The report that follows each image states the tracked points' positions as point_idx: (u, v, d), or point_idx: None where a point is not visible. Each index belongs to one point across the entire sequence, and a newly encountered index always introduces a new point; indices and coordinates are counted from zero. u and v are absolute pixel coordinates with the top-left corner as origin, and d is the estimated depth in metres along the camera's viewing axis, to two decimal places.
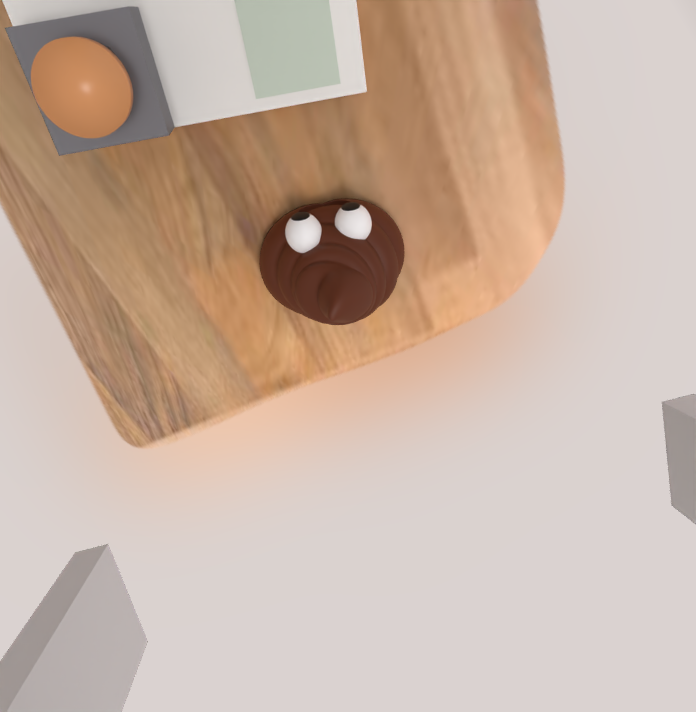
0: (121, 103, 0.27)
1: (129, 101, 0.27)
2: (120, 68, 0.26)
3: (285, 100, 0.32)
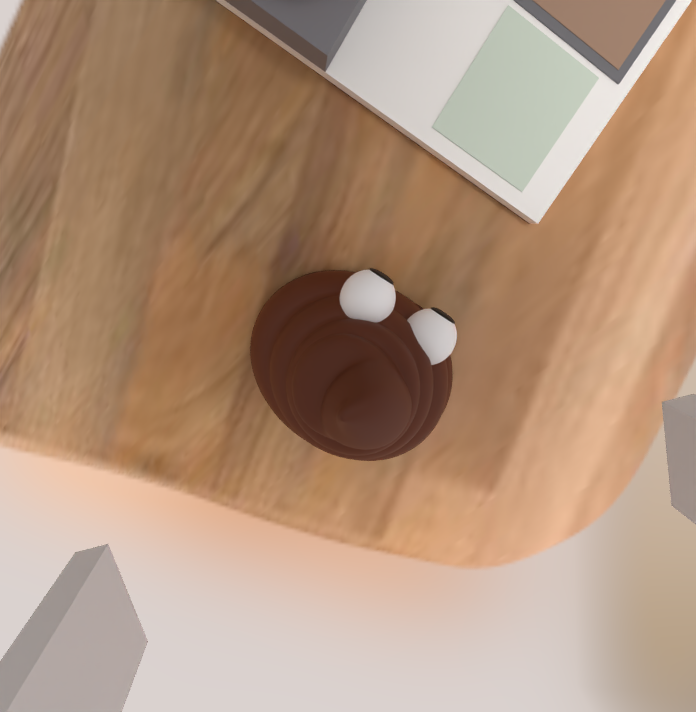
0: None
1: None
2: None
3: (457, 156, 0.24)
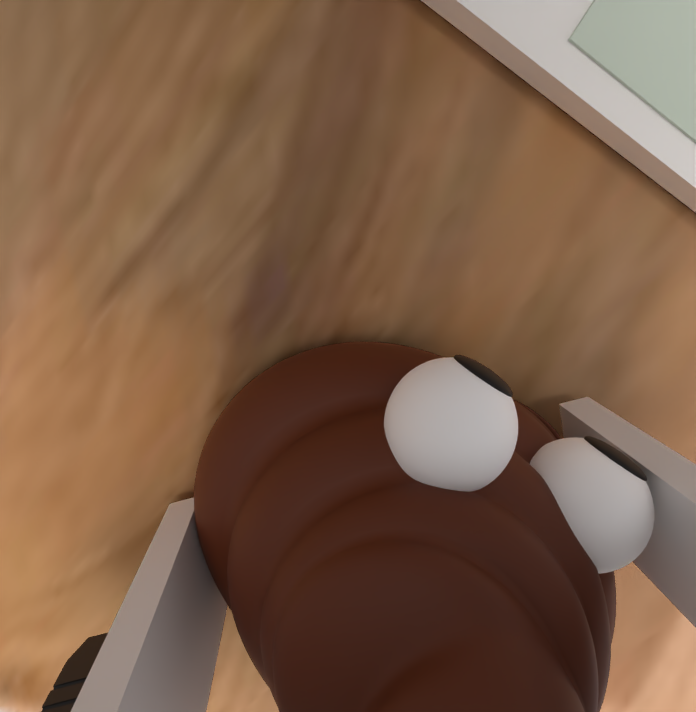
0: None
1: None
2: None
3: (617, 105, 0.11)
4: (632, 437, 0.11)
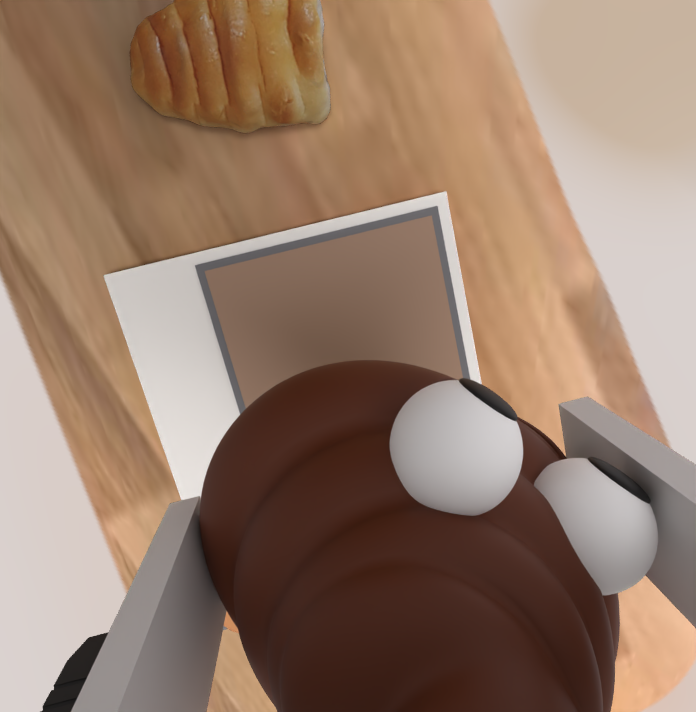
0: None
1: None
2: None
3: None
4: (632, 437, 0.11)
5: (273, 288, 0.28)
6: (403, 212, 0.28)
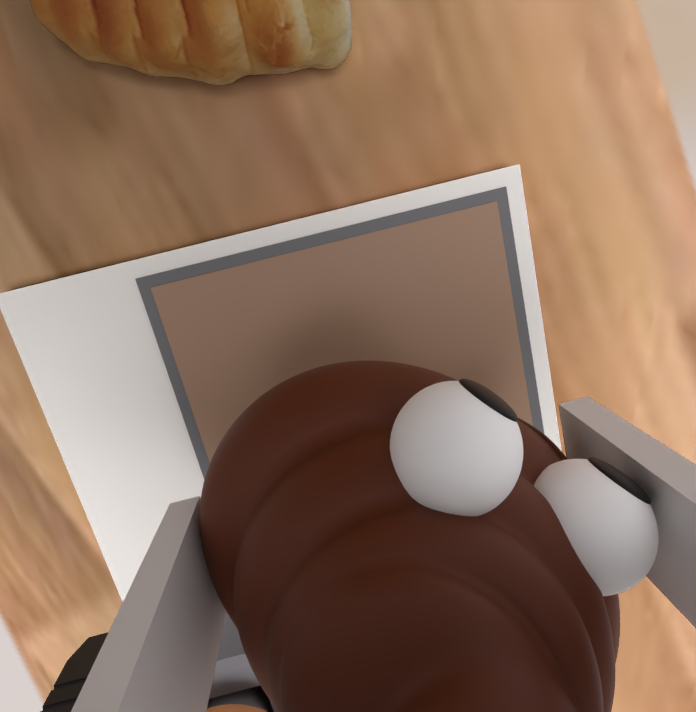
0: None
1: None
2: None
3: None
4: (632, 437, 0.11)
5: (256, 313, 0.19)
6: (454, 196, 0.18)
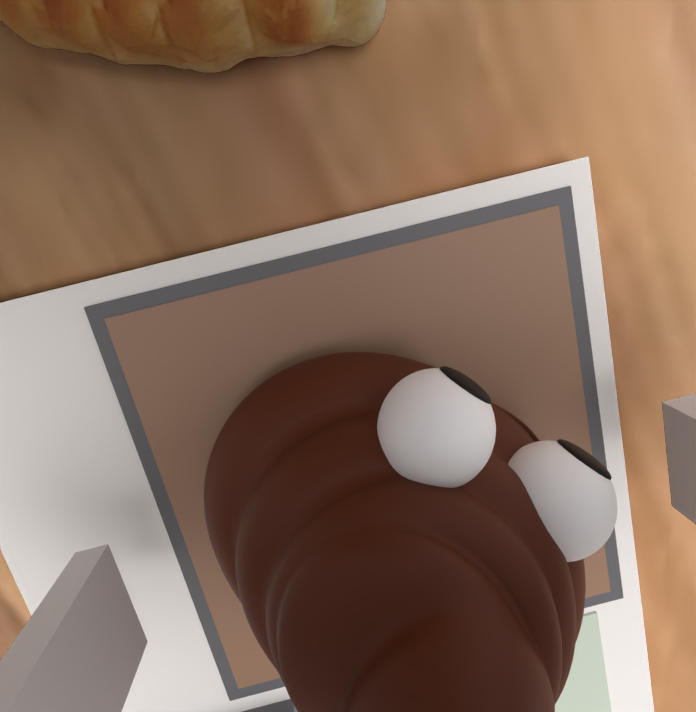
0: None
1: None
2: None
3: None
4: None
5: (243, 351, 0.14)
6: (502, 199, 0.14)
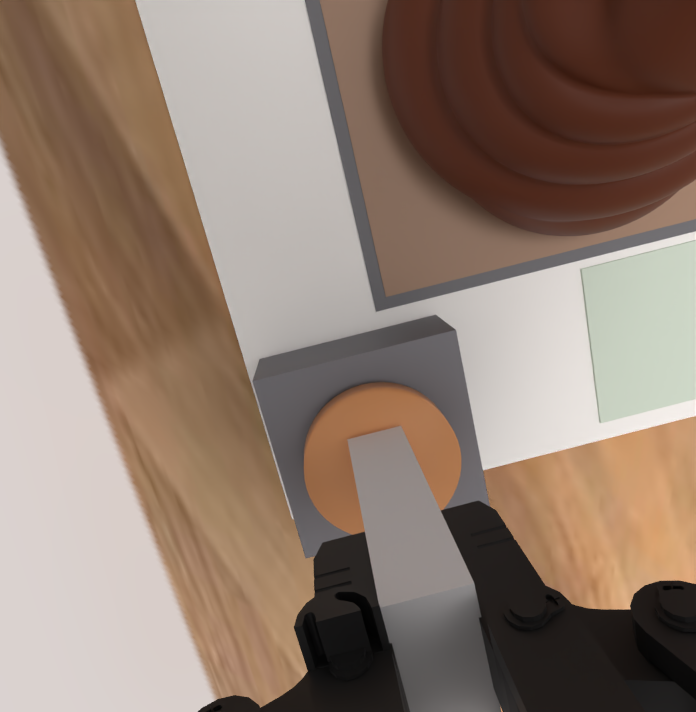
0: (446, 481, 0.15)
1: (457, 475, 0.15)
2: (452, 429, 0.15)
3: (644, 420, 0.20)
4: (406, 468, 0.12)
5: None
6: None
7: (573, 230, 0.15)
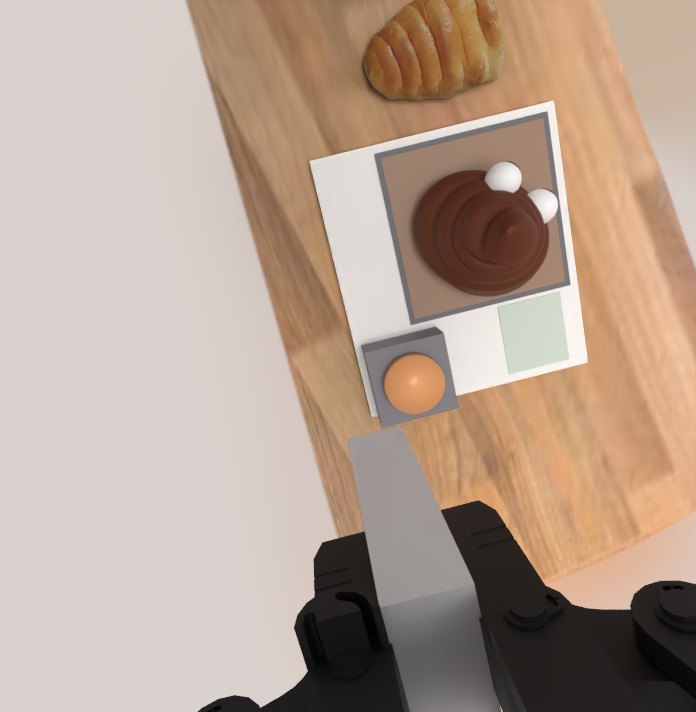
0: (439, 390, 0.40)
1: (443, 389, 0.40)
2: (441, 370, 0.39)
3: (529, 373, 0.44)
4: (406, 468, 0.12)
5: (428, 172, 0.39)
6: (523, 116, 0.39)
7: (488, 295, 0.40)
